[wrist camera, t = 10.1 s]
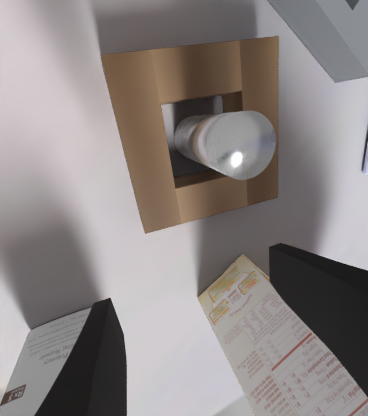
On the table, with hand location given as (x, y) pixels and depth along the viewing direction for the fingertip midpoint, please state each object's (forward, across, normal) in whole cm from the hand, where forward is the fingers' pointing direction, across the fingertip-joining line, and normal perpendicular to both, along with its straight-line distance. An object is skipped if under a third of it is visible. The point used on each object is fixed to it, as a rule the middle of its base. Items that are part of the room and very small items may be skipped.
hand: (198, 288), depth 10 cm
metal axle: (+10, -4, -5) cm, 12 cm away
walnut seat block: (+10, -4, -5) cm, 12 cm away
